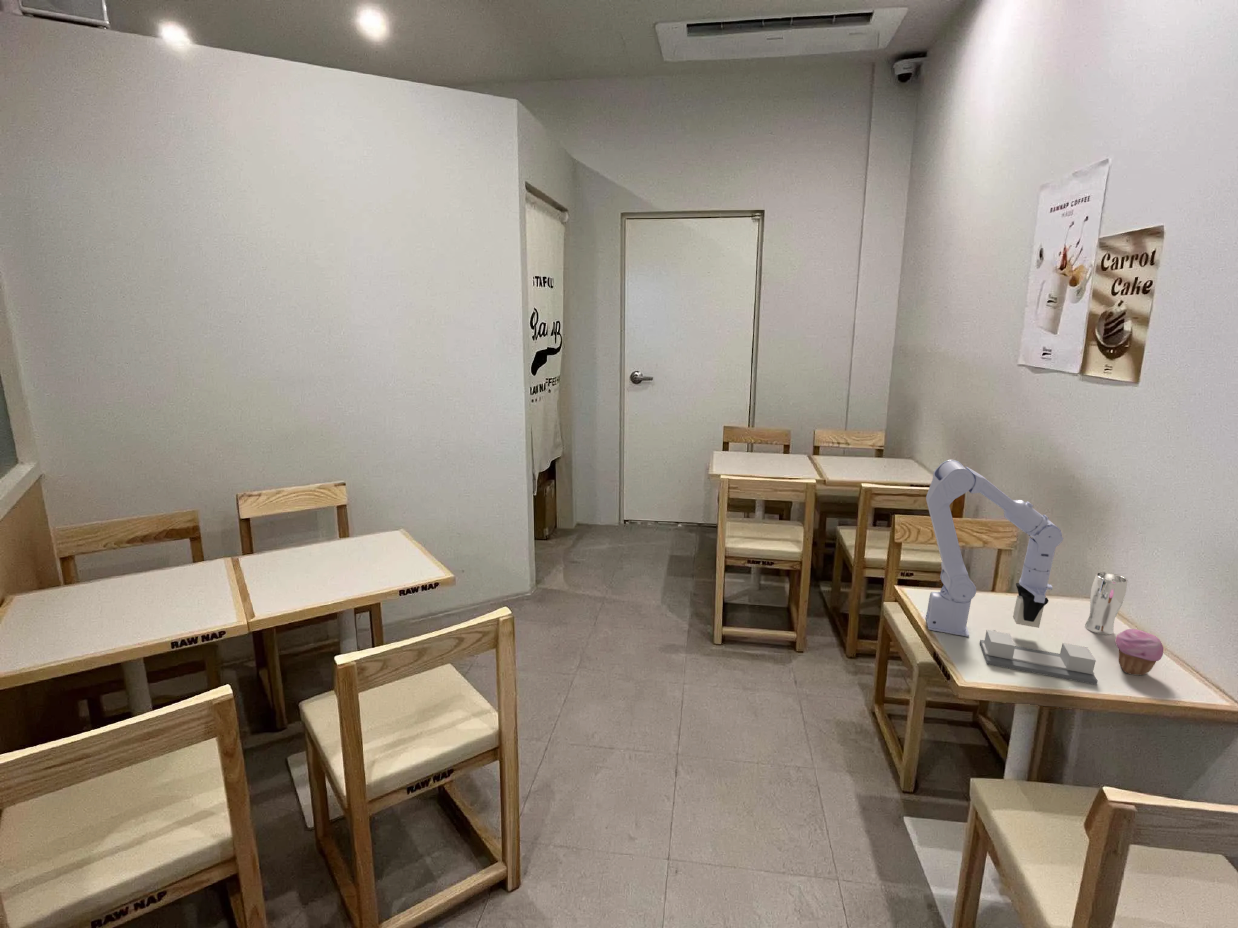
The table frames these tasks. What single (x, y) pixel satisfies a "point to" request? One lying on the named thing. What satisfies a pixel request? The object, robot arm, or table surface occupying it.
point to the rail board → (1039, 658)
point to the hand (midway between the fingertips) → (1026, 616)
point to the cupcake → (1138, 651)
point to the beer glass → (1105, 602)
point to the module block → (1019, 614)
